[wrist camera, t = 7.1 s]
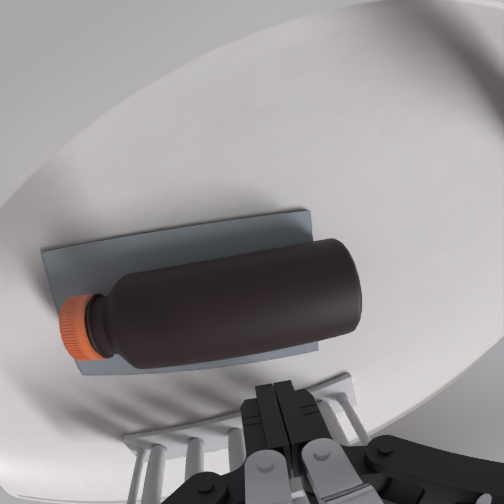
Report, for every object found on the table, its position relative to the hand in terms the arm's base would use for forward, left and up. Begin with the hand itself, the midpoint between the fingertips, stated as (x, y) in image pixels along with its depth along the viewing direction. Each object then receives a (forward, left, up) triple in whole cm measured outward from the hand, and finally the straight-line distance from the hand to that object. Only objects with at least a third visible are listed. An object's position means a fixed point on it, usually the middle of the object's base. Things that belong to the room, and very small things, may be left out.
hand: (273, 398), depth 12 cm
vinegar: (-3, +6, -9) cm, 11 cm away
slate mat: (+2, -5, -12) cm, 13 cm away
